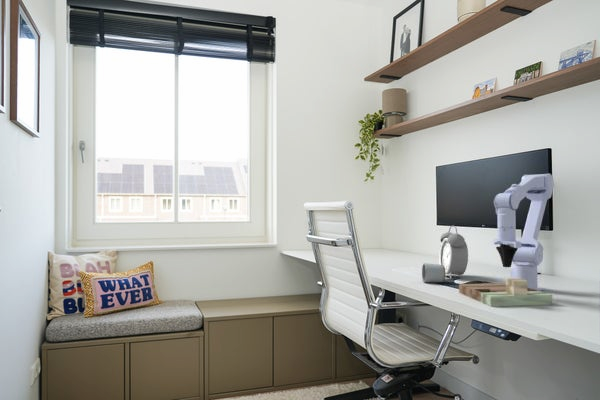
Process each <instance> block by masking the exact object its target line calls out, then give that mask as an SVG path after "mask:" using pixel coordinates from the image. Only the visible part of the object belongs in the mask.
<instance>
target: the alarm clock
mask: <svg viewBox="0 0 600 400" xmlns="http://www.w3.org/2000/svg"><path fill="white" fill-rule="evenodd" d="M451 228H454V229H455V233H453V232H451ZM448 229H449V230H448V231H447V232H444V233H442V234H441V236H440V239H439V241H440V243H441V244H440V248H439V252H438V254H439V255H438V256H439V257H438V262H439V263H438V264H440V265H443V266H444V267H445V273H446V275H448V276H449V279H450V280H451V279H452V275H456V276H457V277H460V276H463V275H464V274H465V272H466V270H467V266H468V262H469V249H468V244H467V242H466V241H465V237H463V235H461V234H460V233H458V228H457V227H456V226H455V225H450V227H449V228H448Z"/></svg>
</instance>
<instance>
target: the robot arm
mask: <svg viewBox="0 0 600 400" xmlns="http://www.w3.org/2000/svg"><path fill="white" fill-rule="evenodd" d="M554 181H555V180H554V177H553V175H552V174H551V173H543V174H542V173H541V174H540V173H539V174H524V175H523V176H522V177H521V181H520V182H519V183H518V184H517V183H513V184H511V185H510V187H509V188H507V189H506V190H505V191H504V192H502V193H498V194H496V195H495V197H494V199H493V205H494V208H495V214H496V216H497V238H493V239H492V241H493V242H492V243H493V245H499V246H495V248H496V250H497V252H498V254H499V257H500V260H501V263H502V267H503V268H510V278H520V279H523V280H527V287H528V288H531V289H535V290H538V291H541V292H543V291H544V289H543V288H540V287H538V266H540V264H541V263H542V262H543V260H544V247H543V245H542V243H541V242H540V241H538V238H539V233H540V230H541V226H542V221H543V217H544V215H545V209H546V206H547V201H548V200H549V199H551V198H552V195H553V191H554V187H555V182H554ZM524 198H526V199H528V200H530V201H531V202H530V206H529V209H528V213H527V217H526V221H525V225H524V228H523V232H522V236H521V237H520V238H518V239H517V238H516V237H517V232H516V230H517V229H516V228H517V227H516V226H517V225H516V218H517V217H516V215H517V214H516V210H518V208H519V205H520V202H521V201H522V200H523V199H524Z"/></svg>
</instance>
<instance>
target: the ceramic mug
mask: <svg viewBox="0 0 600 400" xmlns="http://www.w3.org/2000/svg"><path fill="white" fill-rule="evenodd" d="M446 275H447V274H446V273H445V267H444V266H443V265H440V264H439V263H426V262H424V263H423V264H422V269H421V279H422V282H423V283H430V284H432V283H434V284H435V283H437V284H439V283H444V282H445V281H446Z"/></svg>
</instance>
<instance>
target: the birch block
mask: <svg viewBox="0 0 600 400" xmlns="http://www.w3.org/2000/svg"><path fill="white" fill-rule="evenodd" d="M505 283H506V293H508V294H511V295H527V280H523V279H520V278H511V277H510V278H505Z"/></svg>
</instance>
